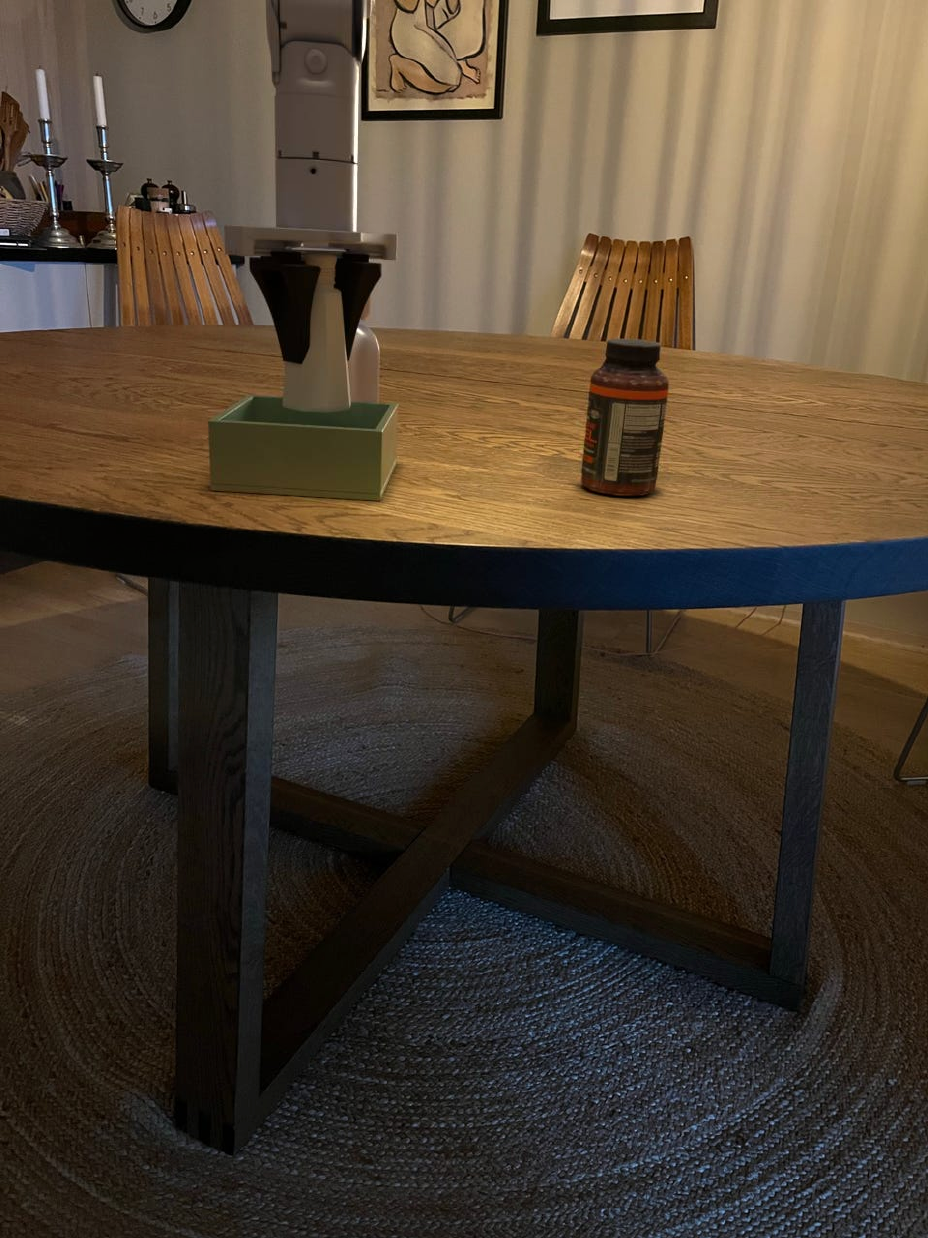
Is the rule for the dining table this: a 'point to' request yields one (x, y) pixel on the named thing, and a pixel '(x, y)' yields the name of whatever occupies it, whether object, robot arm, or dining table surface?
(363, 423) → the storage bin
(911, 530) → the dining table surface
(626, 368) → the supplement bottle
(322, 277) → the pepper shaker
